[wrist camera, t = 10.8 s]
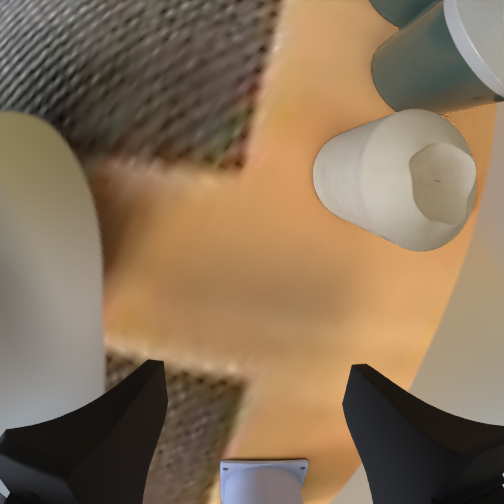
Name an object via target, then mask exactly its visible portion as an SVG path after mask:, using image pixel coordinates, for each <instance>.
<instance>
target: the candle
mask: <svg viewBox="0 0 504 504" xmlns="http://www.w3.org/2000/svg"><path fill="white" fill-rule="evenodd" d="M476 172H477V170H476V164H475V162H474V160H473V158H472V155H471V152H470V149H469V147H468V145H467V143H466V141H465V140H464V138H463V137H462V135H461V134H460V132H459V131H458V130H457V129H456V128H455V127H454V126H453V125H452V124H451V123H450V122H449V121H448V120H446V119H445V118H443V117H442V116H440V115H438V114H436V113H434V112H431V111H428V110H423V109H407V110H403V111H400V112H397V113H394V114H391V115H388V116H386V117H383V118H380V119H378V120H375V121H372V122H370V123H367V124H364V125H362V126H359V127H357V128H354V129H351V130H349V131H346V132H344V133H341V134H339V135H337V136H335V137H333V138H332V139H330V140H329V141H328V142H327V143H326V144H325V145H324V146H323V147H322V148H321V150H320V151H319V153H318V155H317V157H316V159H315V162H314V166H313V184H314V187H315V191H316V193H317V195H318V197H319V199H320V201H321V202H322V203H323V205H324V206H325V207H326V208H327V209H328V210H329V211H330V212H332V213H333V214H335V215H336V216H338V217H340V218H342V219H344V220H346V221H348V222H350V223H353V224H355V225H357V226H359V227H361V228H363V229H365V230H367V231H370V232H372V233H374V234H376V235H378V236H380V237H382V238H384V239H386V240H388V241H390V242H392V243H394V244H396V245H398V246H401V247H403V248H405V249H408V250H412V251H429V250H434V249H437V248H439V247H442V246H443V245H445V244H447V243H448V242H450V241H451V240H452V239H453V238H455V237H456V236H457V235H458V234H459V232H460V231H461V230H462V229H463V227H464V225H465V224H466V222H467V220H468V218H469V216H470V214H471V211H472V208H473V205H474V201H475V196H476V184H477V180H476Z"/></svg>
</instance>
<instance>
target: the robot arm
mask: <svg viewBox="0 0 504 504" xmlns="http://www.w3.org/2000/svg"><path fill="white" fill-rule="evenodd" d="M167 405H168V397H167V389H166V380H165V370H164V361H158V360H149V359H148V360H147V361H146V362H144V363H143V364H142V365H141V366H140V367H138V368H137V369H136V370H135V371H134V372H132V373H131V374H130V375H129V376H128V377H126V378H125V379H124V380H123V381H121V382H120V383H119V384H118V385H116V386H115V387H113V388H112V389H111V390H109V391H108V392H106V393H105V394H103V395H102V396H101V397H99V398H97V399H96V400H94V401H93V402H91V403H89V404H87V405H85V406H83V407H81V408H79V409H77V410H75V411H73V412H70V413H68V414H66V415H64V416H61V417H58V418H55V419H53V420H49V421H46V422H43V423H39V424H35V425H31V426H25V427H19V428H13V429H6V430H5V432H4V433H3V434H2V435H1V437H0V479H1V481H2V482H3V483H4V485H5V486H6V487H7V489H8V490H9V491H10V494H9V496H8V497H7V498H6V497H5V496H3V495H2V494H1V493H0V504H142V501H143V494H144V489H145V483H146V478H147V473H148V470H149V466H150V463H151V460H152V457H153V454H154V451H155V448H156V445H157V442H158V439H159V436H160V433H161V430H162V427H163V424H164V420H165V415H166V410H167ZM342 405H343V410H344V414H345V418H346V422H347V426H348V428H349V431H350V433H351V436H352V438H353V441H354V443H355V446H356V448H357V450H358V453H359V455H360V458H361V460H362V463H363V465H364V468H365V471H366V474H367V478H368V482H369V486H370V490H371V494H372V500H373V504H504V487H503V486H502V485H503V484H504V477H503V475H502V474H503V473H504V426H499V425H491V424H485V423H480V422H476V421H472V420H468V419H464V418H461V417H458V416H455V415H452V414H450V413H447V412H444V411H442V410H440V409H437V408H436V407H434V406H431V405H429V404H427V403H425V402H424V401H422V400H420V399H418V398H416V397H415V396H413V395H412V394H410V393H408V392H407V391H405V390H404V389H402V388H401V387H399V386H398V385H396V384H395V383H393V382H392V381H391V380H389V379H388V378H386V377H385V376H383V375H382V374H381V373H379V372H378V371H376V370H375V369H374V368H372V367H371V366H369V365H367V364H356V365H352V367H351V371H350V375H349V379H348V383H347V387H346V391H345V395H344V399H343V403H342ZM308 466H309V462H308V460H306V459H302V460H281V461H235V460H223V461H221V463H220V471H221V501H222V504H304V503H303V498H302V492H301V489H302V486H303V483H304V480H305V476H306V473H307V469H308Z"/></svg>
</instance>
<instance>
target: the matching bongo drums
mask: <svg viewBox="0 0 504 504" xmlns="http://www.w3.org/2000/svg"><path fill="white" fill-rule="evenodd" d="M370 2H371V4H372V5H373V6H374V8H375V9H376V10H377V11H378V12H379V13H380V14H381V15H382V16H383V17H384V18H385V19H386V20H388V21H389V22H391V23H392V24H394V25H396V26H397V27H400V29H399V30H398V31H397V32H396V33H395V34H393V35H392V36H391V37H390V38H389V39H387V40H386V41H385V42H384V43H383V44H382V45H380V46H379V47H378V49H377V50H376V51H375V53H374V56H373V58H372V66H371V69H372V76H373V80H374V83H375V86H376V88H377V90H378V92H379V93H380V95H381V97H382V98H383V99H384V101H385V102H386V103H387V104H388V105H389V106H390V107H391V108H392V109H394V110H395V111H396V112H400V111H403V110H407V109H423V110H428V111H431V112H434V113H436V114H438V115H443V114H447V113H451V112H455V111H460V110H464V109H469V108H473V107H478V106H483V105H487V104H492V103H497V102H502V101H504V0H370Z"/></svg>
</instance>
